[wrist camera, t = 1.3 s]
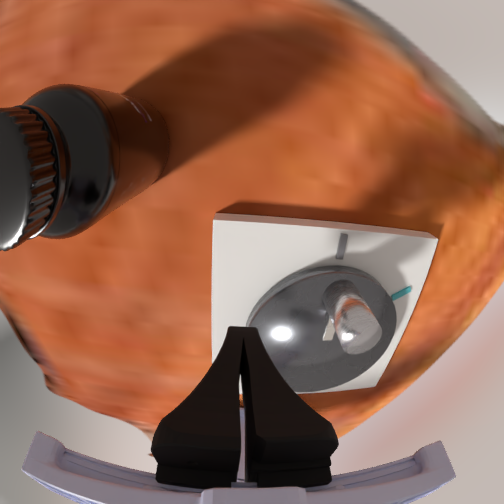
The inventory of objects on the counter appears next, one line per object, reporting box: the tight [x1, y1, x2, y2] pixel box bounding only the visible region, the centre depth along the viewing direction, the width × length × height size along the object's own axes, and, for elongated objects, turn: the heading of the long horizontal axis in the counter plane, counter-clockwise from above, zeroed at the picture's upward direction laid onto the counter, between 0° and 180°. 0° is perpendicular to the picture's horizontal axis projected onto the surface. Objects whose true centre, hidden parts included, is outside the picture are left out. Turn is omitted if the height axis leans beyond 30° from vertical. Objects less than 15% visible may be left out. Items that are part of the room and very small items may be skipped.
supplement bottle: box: [0, 84, 169, 251], centre depth 11 cm, size 7×7×12 cm
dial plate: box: [212, 213, 438, 394], centre depth 22 cm, size 17×17×2 cm
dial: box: [246, 265, 397, 392], centre depth 18 cm, size 12×12×6 cm
